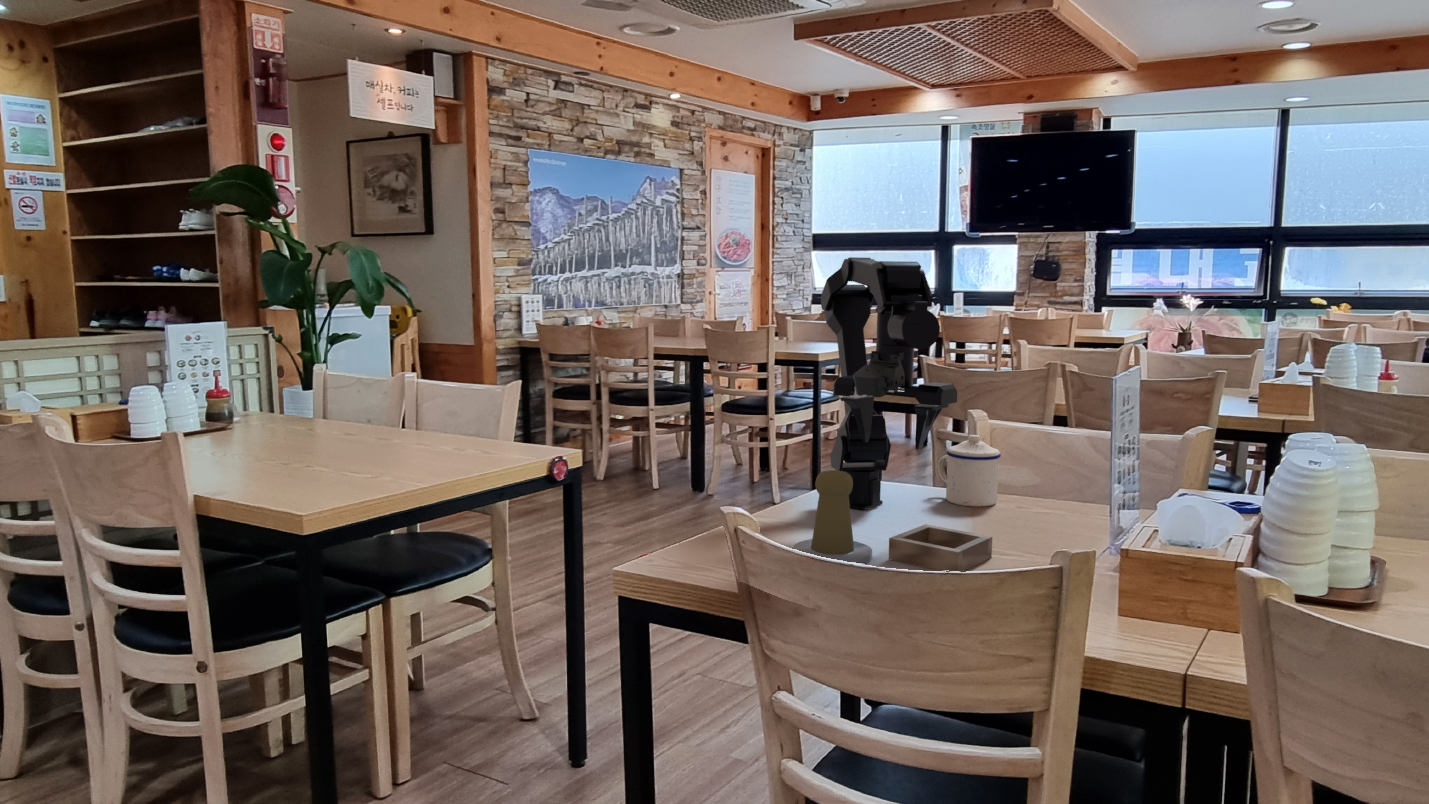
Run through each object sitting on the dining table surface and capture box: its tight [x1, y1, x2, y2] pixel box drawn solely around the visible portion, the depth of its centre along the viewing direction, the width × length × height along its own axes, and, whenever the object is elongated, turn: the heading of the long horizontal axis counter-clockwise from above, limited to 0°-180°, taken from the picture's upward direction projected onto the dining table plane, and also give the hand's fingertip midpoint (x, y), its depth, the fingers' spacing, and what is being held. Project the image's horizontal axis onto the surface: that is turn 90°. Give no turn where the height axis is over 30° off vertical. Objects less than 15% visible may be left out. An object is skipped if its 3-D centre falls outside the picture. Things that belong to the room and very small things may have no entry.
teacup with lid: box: [937, 434, 1002, 508], centre depth 176 cm, size 12×9×12 cm
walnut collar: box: [888, 523, 993, 572], centre depth 140 cm, size 10×10×3 cm
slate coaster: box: [792, 538, 873, 564], centre depth 141 cm, size 11×11×1 cm
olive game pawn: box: [811, 469, 854, 555], centre depth 140 cm, size 6×6×11 cm
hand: (891, 445), depth 155 cm, fingers open, 9 cm apart
